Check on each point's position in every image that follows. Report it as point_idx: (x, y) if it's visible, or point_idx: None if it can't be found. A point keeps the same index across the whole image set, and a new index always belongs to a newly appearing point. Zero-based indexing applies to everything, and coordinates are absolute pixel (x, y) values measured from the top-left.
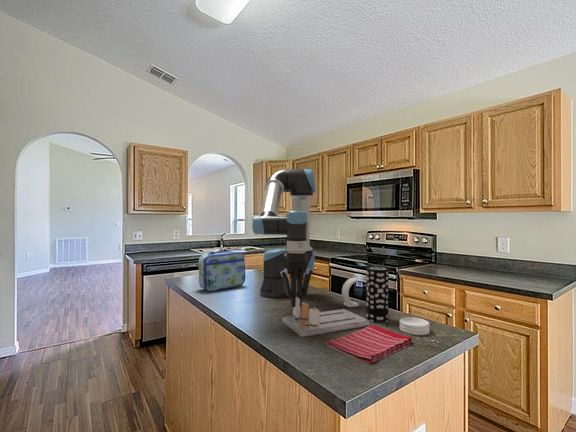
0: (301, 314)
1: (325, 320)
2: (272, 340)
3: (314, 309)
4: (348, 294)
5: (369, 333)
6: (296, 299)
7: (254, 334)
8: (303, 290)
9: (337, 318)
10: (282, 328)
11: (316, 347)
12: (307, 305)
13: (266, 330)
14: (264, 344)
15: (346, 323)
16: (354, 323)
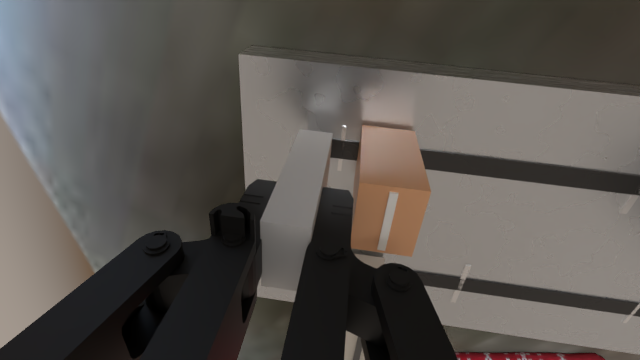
0: (356, 172)
1: (470, 256)
2: (125, 244)
3: (354, 356)
4: None
5: None
6: (267, 281)
7: (43, 149)
8: (409, 328)
9: (572, 266)
10: (211, 147)
11: (264, 348)
12: (398, 248)
13: (112, 130)
14: (88, 257)
15: (524, 333)
16: (571, 340)
